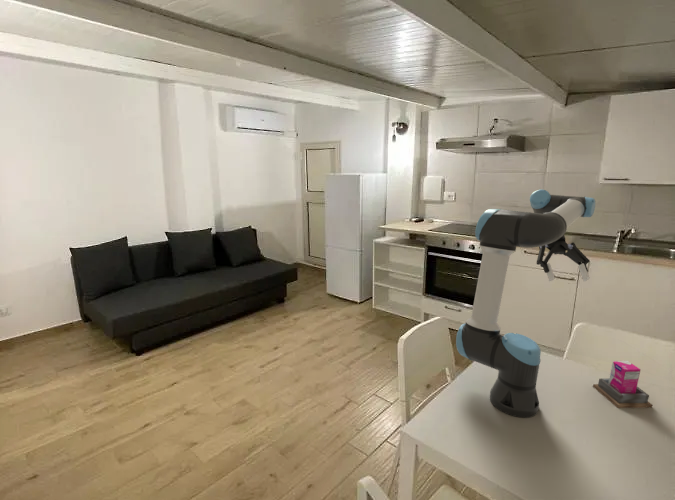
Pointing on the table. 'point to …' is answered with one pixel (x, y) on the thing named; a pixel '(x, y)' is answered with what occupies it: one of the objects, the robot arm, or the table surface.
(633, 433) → the table surface
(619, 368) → the supplement box
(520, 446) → the table surface
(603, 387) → the socket
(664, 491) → the table surface
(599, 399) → the table surface
